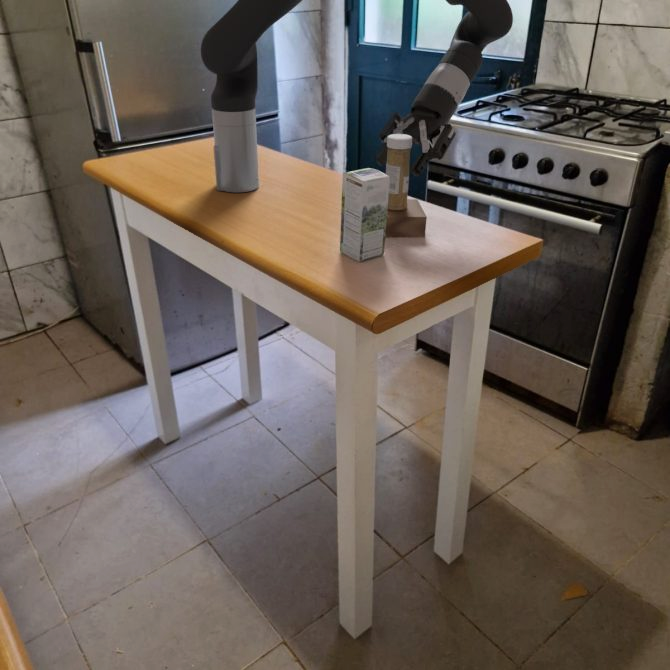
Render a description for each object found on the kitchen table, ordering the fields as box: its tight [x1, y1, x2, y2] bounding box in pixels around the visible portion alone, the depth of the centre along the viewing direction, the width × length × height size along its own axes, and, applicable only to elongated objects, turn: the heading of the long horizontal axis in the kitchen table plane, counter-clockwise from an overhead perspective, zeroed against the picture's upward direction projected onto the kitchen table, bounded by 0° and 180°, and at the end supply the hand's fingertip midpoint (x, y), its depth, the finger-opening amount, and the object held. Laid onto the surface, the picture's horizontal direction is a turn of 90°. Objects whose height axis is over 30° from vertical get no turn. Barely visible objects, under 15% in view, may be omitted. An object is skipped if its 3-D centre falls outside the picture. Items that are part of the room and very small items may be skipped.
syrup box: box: [339, 167, 390, 263], centre depth 107 cm, size 6×6×14 cm
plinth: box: [385, 198, 428, 238], centre depth 121 cm, size 10×10×4 cm
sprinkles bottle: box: [385, 133, 413, 211], centre depth 117 cm, size 5×5×14 cm
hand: (395, 168), depth 116 cm, fingers open, 8 cm apart
